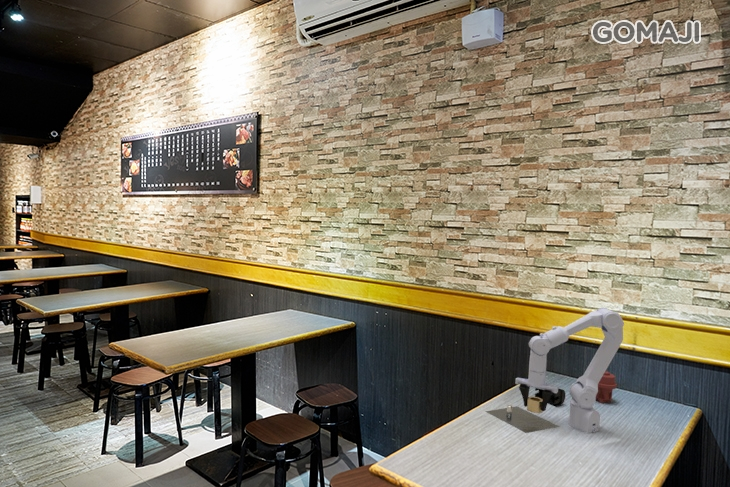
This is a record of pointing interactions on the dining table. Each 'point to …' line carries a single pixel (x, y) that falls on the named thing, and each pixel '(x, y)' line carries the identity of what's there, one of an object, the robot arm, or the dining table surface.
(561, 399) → the end cap
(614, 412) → the dining table surface
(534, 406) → the bronze hub
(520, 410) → the shaft stand
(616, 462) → the dining table surface
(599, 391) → the mechanical component
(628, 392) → the dining table surface
